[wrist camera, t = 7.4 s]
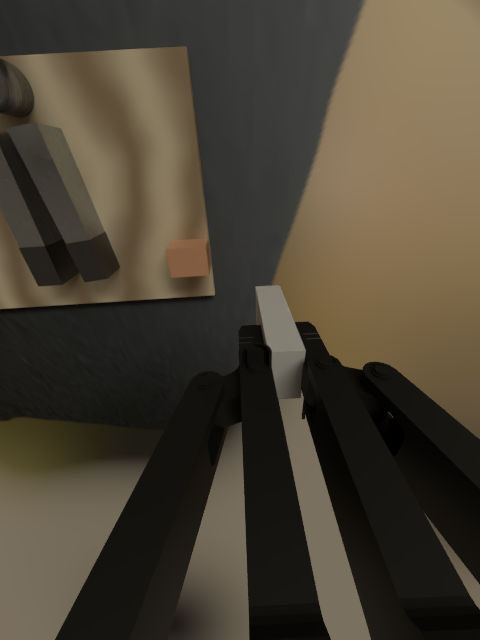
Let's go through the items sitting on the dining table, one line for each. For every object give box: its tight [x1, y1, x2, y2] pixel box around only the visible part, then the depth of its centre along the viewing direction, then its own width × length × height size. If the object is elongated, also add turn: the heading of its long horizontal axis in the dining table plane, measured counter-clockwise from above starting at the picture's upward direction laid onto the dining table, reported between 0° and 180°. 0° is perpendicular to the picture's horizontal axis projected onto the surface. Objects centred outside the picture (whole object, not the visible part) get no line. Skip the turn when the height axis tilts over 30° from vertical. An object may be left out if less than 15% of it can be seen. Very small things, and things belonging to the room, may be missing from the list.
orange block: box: [166, 238, 211, 278], centre depth 27 cm, size 4×3×4 cm
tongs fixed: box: [0, 58, 79, 287], centre depth 23 cm, size 18×5×4 cm, turn 3°
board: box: [0, 46, 215, 309], centre depth 26 cm, size 30×22×1 cm
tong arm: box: [6, 122, 120, 282], centre depth 24 cm, size 13×2×4 cm, turn 9°
